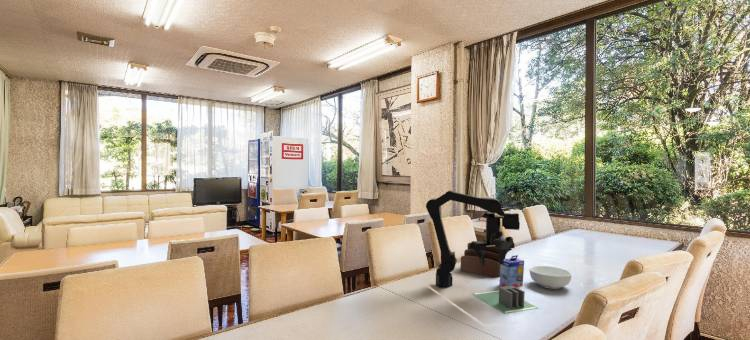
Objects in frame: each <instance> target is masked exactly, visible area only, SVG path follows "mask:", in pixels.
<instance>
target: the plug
mask: <svg viewBox="0 0 750 340" xmlns="http://www.w3.org/2000/svg"><path fill="white" fill-rule="evenodd" d="M498 290H499V303H500V304H502V305H504V306H506V307H507V308H509V309H512V306H513V307H515V308H518V305H519V306H521V307H524V301H525V291H524V290H522V289H521V288H518V287H514V286H505V287H503V286H499V287H498Z"/></svg>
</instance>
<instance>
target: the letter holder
mask: <svg viewBox="0 0 750 340" xmlns="http://www.w3.org/2000/svg"><path fill="white" fill-rule="evenodd" d="M470 243H471V242H467V249H465V250H463V251H464V252H463V253H464V254H463V255H462V256H460V268H459V270H460V272H464V271H465V273H470V274H475V275H480V276H485V277H490V278H500V262H499V254H498V248H497V247H486V250H485V251H487V252H486V253H485V263H484V266H482V265H481V262H480V260H479V258H478V255H477V253H476V252H475V250H473V249H472V248H470Z"/></svg>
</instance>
